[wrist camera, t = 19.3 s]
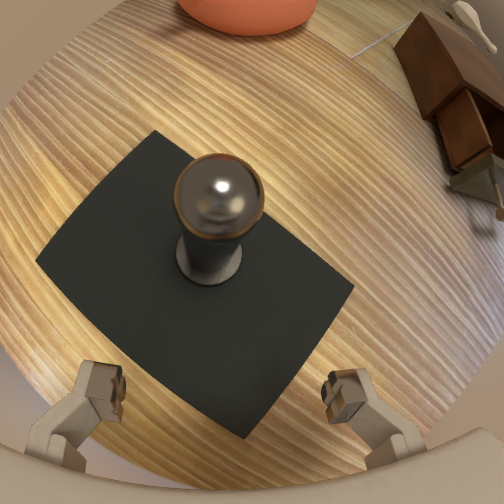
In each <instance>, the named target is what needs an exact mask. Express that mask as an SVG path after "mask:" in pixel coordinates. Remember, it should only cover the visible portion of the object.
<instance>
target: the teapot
mask: <svg viewBox="0 0 504 504" xmlns="http://www.w3.org/2000/svg"><path fill="white" fill-rule="evenodd" d="M177 1H178V3H179V4H180V5H181V6H182V8H183V9H184V10H185V11H186V12H187V13H188V14H190V15H191V16H192V17H193V18H194V19H196V20H197V21H199V22H200V23H202V24H204V25H206V26H208V27H210V28H213V29H215V30H218V31H221V32H224V33H228V34H233V35H241V36H263V35H272V34H277V33H281V32H284V31H286V30H289V29H291V28H294V27H296V26H298V25H300V24H302V23H304V22H305V21H306V20H308V19H309V18H310V17H311V15H312V14H313V12H314V9H315V7H316V3H317V0H177Z"/></svg>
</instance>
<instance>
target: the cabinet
mask: <svg viewBox="0 0 504 504" xmlns="http://www.w3.org/2000/svg"><path fill="white" fill-rule="evenodd" d="M394 49H395V52H396V54H397V56H398V58H399V60H400V62H401V65H402V67H403V69H404V71H405V74H406V76H407V78H408V81H409V83H410V86H411V88H412V91H413V93H414V96H415V99H416V101H417V104H418V107H419V110H420V112H421V115H422V118H423V119H425V120H427V121H429V122H432V123H434V124H436V125H438V123H437V120H436V117H435V113H436V112H437V111H438V110H439V109H440V108H441V107H442V106H443V105H444V104H446V103H447V102H448V101H449V100H450V99H451V98H452V97H453V96H454V95H455V94H456V93H457V92H458V91H460V90H461V89H462V88H463V87H464V86H465V87H467V88H469V89H470V90H472V91H473V92H475V93H477V94H478V95H480V96H481V97H483V98H484V99H486V100H487V101H488V102H490V103H491V104H493V105H494V106H496V107H497V108H498V109H500V110H501V111H503V112H504V82H503V80H502V79H501V77H500V75H499V74H498V72H497V70H496V69H495V67H494V65H493V64H492V62H491V61H490V59H489V58H488V56H487V55H486V53H484V52H483V51H482V50H480V49H479V48H478V47H476V46H475V45H474V44H472V43H471V42H469V41H468V40H467V39H465V38H464V37H462V36H461V35H459V34H458V33H456V32H455V31H453V30H452V29H450V28H449V27H447V26H445V25H444V24H442V23H440V22H439V21H437V20H435V19H434V18H432V17H430V16H428V15H427V14H425V13H423V12H421V11H420V13H419V14H418V15H417V17H416V18H415V19H414V21H413V22H412V23H411V25H410V26H409V27H408V29H407V30H406V32H405V33H404V34H403V36H402V37H401V38H400V40H399V41H398V43H397V44H396V45H395V47H394Z"/></svg>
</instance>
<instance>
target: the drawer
mask: <svg viewBox="0 0 504 504" xmlns="http://www.w3.org/2000/svg"><path fill="white" fill-rule="evenodd" d="M435 117H436V120H437V123H438V125H439V128H440V131H441V134H442V137H443V140H444V144H445V147H446V150H447V154H448V157H449V161H450V164H451V168H452V169H453V170H456V171H459V172H460V173H458V174H457V175H455V176H454V177H452V178H451V179H449V182H450V187H451V189H452V190H455V191H458V192H462V193H465V194H468V195H471V196H474V197H477V198H480V199H483V200H486V201H489V202H491V203H494V204H497V207H498V209H497V211H496V218H497V219H498V220H499V221H502V222H504V112H503V111H501V110H500V109H498V108H497V107H496V106H494V105H493V104H491V103H490V102H488V101H487V100H486V99H484V98H483V97H481V96H480V95H478V94H477V93H475V92H473V91H472V90H470V89H469V88H467V87H465V86H464V87H463V88H462V89H461V90H460V91H458V92H457V93H456V94H455V95H454V96H453V97H452V98H451V99H450V100H449V101H448V102H447V103H446V104H444V105H443V106H442V107H441V108H440V109H439V110H438V111H437V112H436V113H435Z"/></svg>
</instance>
